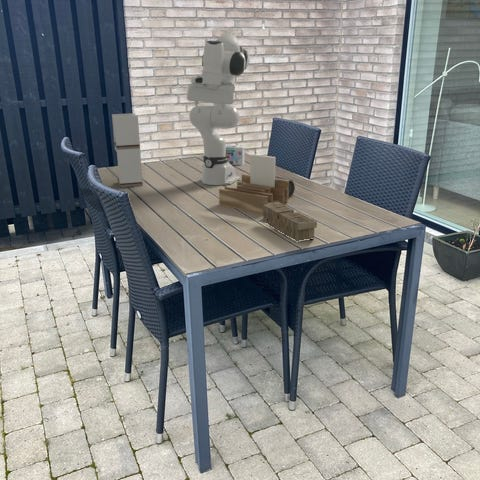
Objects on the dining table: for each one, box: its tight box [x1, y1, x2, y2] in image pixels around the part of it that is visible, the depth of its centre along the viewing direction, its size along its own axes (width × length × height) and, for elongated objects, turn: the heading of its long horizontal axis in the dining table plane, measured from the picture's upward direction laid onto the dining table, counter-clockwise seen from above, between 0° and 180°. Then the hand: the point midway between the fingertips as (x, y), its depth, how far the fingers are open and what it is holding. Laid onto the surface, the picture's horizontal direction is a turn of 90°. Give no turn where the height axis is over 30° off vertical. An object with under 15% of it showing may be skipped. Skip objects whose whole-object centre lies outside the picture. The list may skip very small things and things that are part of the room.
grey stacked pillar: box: [111, 113, 144, 188], centre depth 263 cm, size 11×11×35 cm
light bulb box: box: [226, 144, 245, 166], centre depth 313 cm, size 11×7×11 cm, turn 80°
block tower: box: [262, 202, 318, 241], centre depth 201 cm, size 8×8×29 cm
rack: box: [218, 173, 290, 214], centre depth 229 cm, size 20×24×12 cm
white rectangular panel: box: [249, 153, 277, 187], centre depth 233 cm, size 2×12×20 cm, turn 57°
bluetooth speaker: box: [275, 175, 296, 198], centre depth 247 cm, size 23×9×10 cm, turn 47°
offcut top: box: [236, 183, 271, 194], centre depth 229 cm, size 6×14×2 cm, turn 55°
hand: (209, 113), depth 227 cm, fingers open, 8 cm apart
